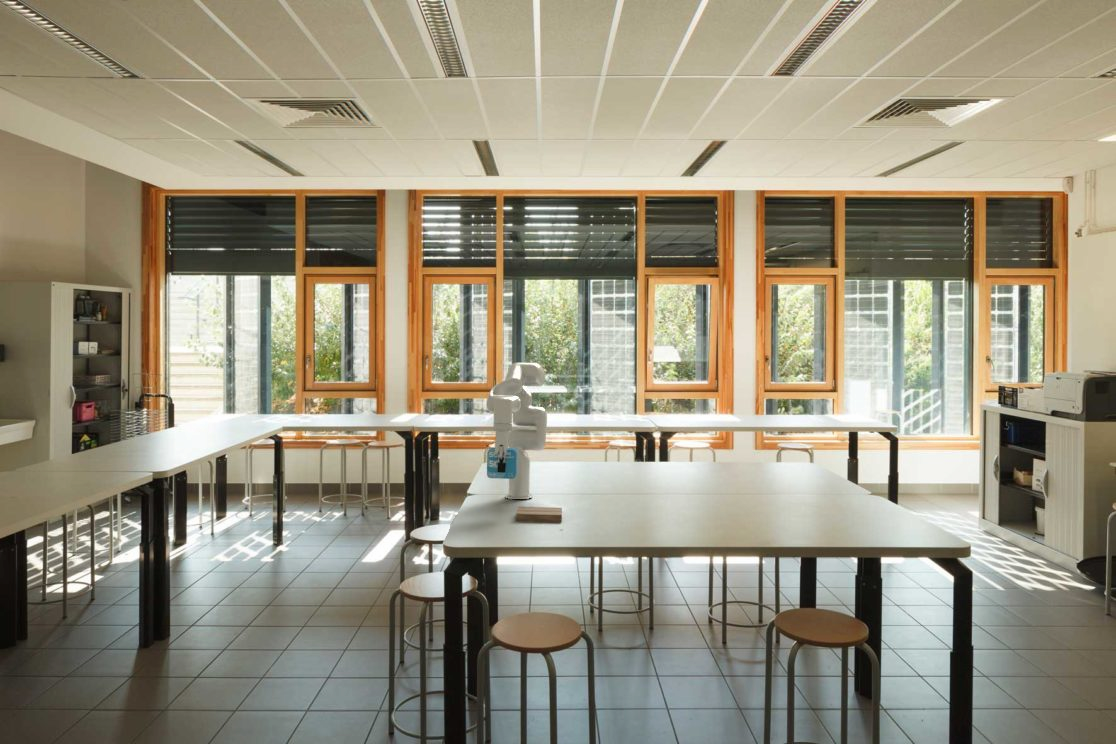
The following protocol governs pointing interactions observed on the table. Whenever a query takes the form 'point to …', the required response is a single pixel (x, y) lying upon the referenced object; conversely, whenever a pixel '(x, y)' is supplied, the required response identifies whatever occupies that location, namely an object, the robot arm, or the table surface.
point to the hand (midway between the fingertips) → (502, 470)
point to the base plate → (539, 514)
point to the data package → (509, 460)
